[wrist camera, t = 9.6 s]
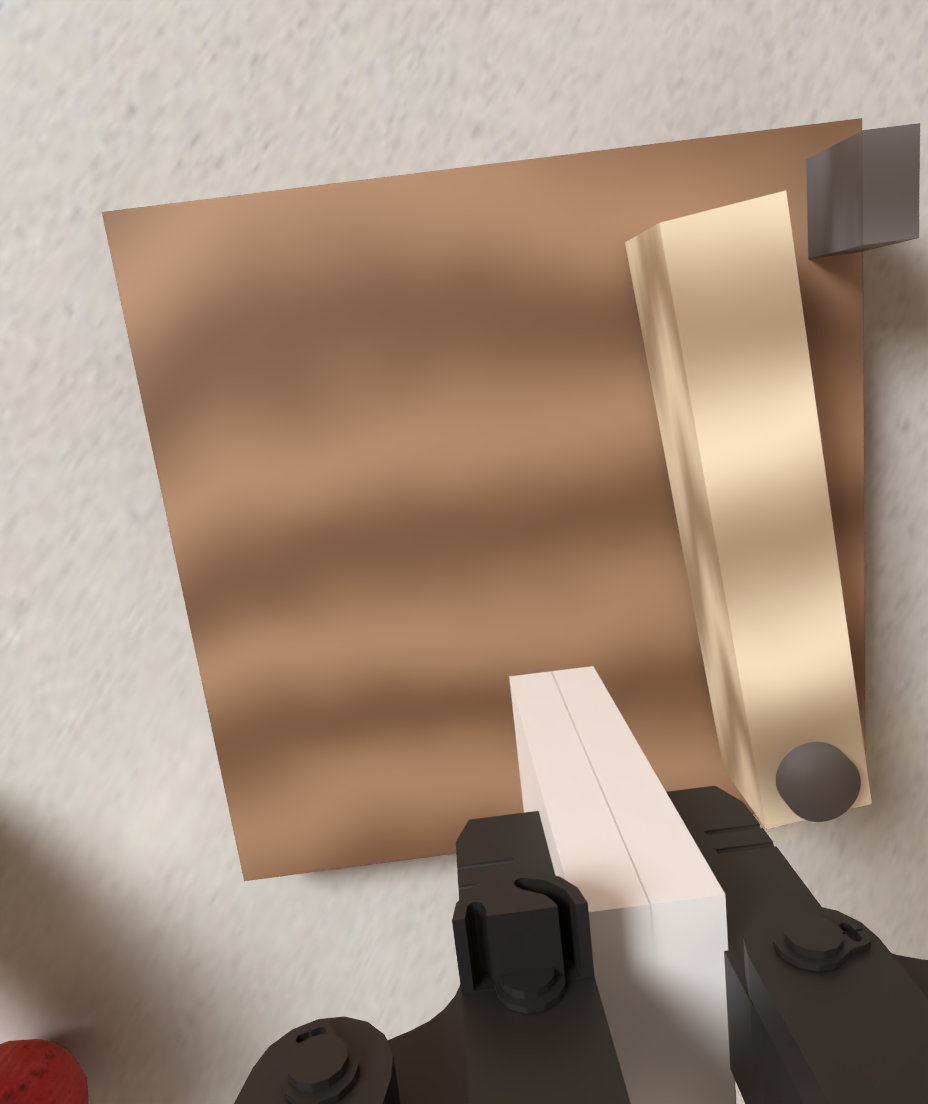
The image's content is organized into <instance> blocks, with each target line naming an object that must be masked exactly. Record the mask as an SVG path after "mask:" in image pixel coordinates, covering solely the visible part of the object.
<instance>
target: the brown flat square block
mask: <svg viewBox="0 0 928 1104" xmlns="http://www.w3.org/2000/svg"><path fill="white" fill-rule="evenodd" d="M919 169H920V123H919V124H910V125H902V126H894V127H886V128H878V129H870V130H863V131H862V118H860V119H852V120H844V121H836V122H828V123H820V124H812V125H804V126H796V127H788V128H779V129H771V130H763V131H755V132H747V133H739V134H731V135H723V136H715V137H707V138H698V139H690V140H682V141H674V142H666V143H658V144H650V145H642V146H634V147H625V148H617V149H609V150H601V151H593V152H585V153H577V154H569V155H561V156H553V157H544V158H536V159H528V160H520V161H512V162H504V163H496V164H488V165H480V166H472V167H463V168H455V169H447V170H439V171H431V172H423V173H415V174H407V175H399V176H391V177H382V178H374V179H366V180H358V181H350V182H342V183H334V184H326V185H318V186H309V187H301V188H293V189H285V190H277V191H269V192H261V193H253V194H245V195H237V196H228V197H220V198H212V199H204V200H196V201H188V202H180V203H172V204H164V205H156V206H147V207H139V208H131V209H123V210H115V211H107V212H102V216H103V220H104V225H105V230H106V234H107V239H108V244H109V248H110V253H111V258H112V262H113V267H114V272H115V277H116V281H117V286H118V291H119V295H120V300H121V305H122V309H123V314H124V319H125V323H126V328H127V333H128V338H129V342H130V347H131V352H132V356H133V361H134V366H135V370H136V375H137V380H138V384H139V389H140V394H141V399H142V403H143V408H144V413H145V417H146V422H147V427H148V431H149V436H150V441H151V446H152V450H153V455H154V460H155V464H156V469H157V474H158V478H159V483H160V488H161V492H162V497H163V502H164V507H165V511H166V516H167V521H168V525H169V530H170V535H171V539H172V544H173V549H174V553H175V558H176V563H177V568H178V572H179V577H180V582H181V586H182V591H183V596H184V600H185V605H186V610H187V614H188V619H189V624H190V629H191V633H192V638H193V643H194V647H195V652H196V657H197V661H198V666H199V671H200V675H201V680H202V685H203V690H204V694H205V699H206V704H207V708H208V713H209V718H210V722H211V727H212V732H213V737H214V741H215V746H216V751H217V755H218V760H219V765H220V769H221V774H222V779H223V783H224V788H225V793H226V798H227V802H228V807H229V812H230V816H231V821H232V826H233V830H234V835H235V840H236V844H237V849H238V854H239V859H240V863H241V868H242V873H243V877H244V881H249V880H257V879H264V878H272V877H279V876H287V875H294V874H302V873H310V872H317V871H325V870H332V869H340V868H347V867H355V866H362V865H370V864H377V863H385V862H393V861H400V860H408V859H415V858H423V857H430V856H438V855H445V854H453V853H456V840H457V839H458V837H459V835H460V834H461V832H462V830H463V829H464V827H465V825H466V824H467V822H468V820H470V819H477V818H485V817H493V816H501V815H509V814H517V813H524V808H523V799H522V790H521V780H520V771H519V762H518V753H517V743H516V734H515V725H514V716H513V706H512V697H511V688H510V679H509V676H517V675H525V674H533V673H541V672H549V671H557V670H566V669H574V668H582V667H590V666H593V667H594V668H595V670H596V672H597V674H598V675H599V677H600V679H601V680H602V682H603V684H604V686H605V687H606V689H607V691H608V693H609V694H610V696H611V698H612V699H613V701H614V703H615V705H616V706H617V708H618V710H619V712H620V713H621V715H622V717H623V718H624V720H625V722H626V724H627V725H628V727H629V729H630V731H631V732H632V734H633V736H634V737H635V739H636V741H637V743H638V744H639V746H640V748H641V750H642V751H643V753H644V755H645V756H646V758H647V760H648V762H649V763H650V765H651V767H652V769H653V770H654V772H655V774H656V775H657V777H658V779H659V781H660V782H661V784H662V786H663V788H664V789H665V791H666V792H668V791H676V790H684V789H691V788H699V787H707V786H717V787H719V788H720V789H722V790H724V791H725V792H727V793H729V794H730V795H732V796H734V797H735V798H737V799H739V800H741V801H742V802H744V804H745V805H746V806H747V808H748V809H749V810H750V812H751V813H752V814H755V813H754V811H753V810H752V808H751V807H750V806H749V804H748V803H747V801H746V800H745V798H744V797H743V796H742V794H741V793H740V791H739V790H738V789H737V787H736V786H735V784H734V783H733V782H732V780H731V779H730V777H729V776H728V774H727V773H726V772H725V770H724V769H723V763H722V758H721V753H720V747H719V742H718V737H717V731H716V726H715V721H714V715H713V710H712V705H711V699H710V694H709V688H708V683H707V678H706V672H705V667H704V662H703V656H702V651H701V646H700V640H699V635H698V630H697V624H696V619H695V614H694V608H693V603H692V598H691V592H690V587H689V582H688V576H687V571H686V566H685V560H684V555H683V550H682V544H681V539H680V534H679V528H678V523H677V517H676V512H675V507H674V501H673V496H672V491H671V485H670V480H669V475H668V469H667V464H666V459H665V453H664V448H663V443H662V437H661V432H660V427H659V421H658V416H657V411H656V405H655V400H654V395H653V389H652V384H651V379H650V373H649V368H648V362H647V357H646V352H645V346H644V341H643V336H642V330H641V325H640V320H639V314H638V309H637V304H636V298H635V293H634V288H633V282H632V277H631V272H630V266H629V261H628V256H627V250H626V245H625V242H627V241H628V240H630V239H632V238H634V237H635V236H637V235H639V234H641V233H642V232H644V231H646V230H648V229H649V228H651V227H653V226H655V225H656V224H658V223H661V222H665V221H668V220H672V219H676V218H680V217H684V216H688V215H692V214H696V213H700V212H704V211H708V210H711V209H715V208H719V207H723V206H727V205H731V204H735V203H739V202H743V201H747V200H750V199H754V198H758V197H762V196H766V195H770V194H774V193H778V192H782V191H786V193H787V200H788V207H789V215H790V222H791V229H792V236H793V243H794V250H795V257H796V265H797V272H798V279H799V286H800V293H801V300H802V308H803V315H804V322H805V329H806V336H807V343H808V350H809V358H810V365H811V372H812V379H813V386H814V393H815V401H816V408H817V415H818V422H819V429H820V436H821V443H822V451H823V458H824V465H825V472H826V479H827V486H828V493H829V501H830V508H831V515H832V522H833V529H834V536H835V544H836V551H837V558H838V565H839V572H840V579H841V586H842V594H843V601H844V608H845V615H846V622H847V629H848V636H849V644H850V651H851V658H852V665H853V672H854V679H855V687H856V694H857V701H858V708H859V715H860V722H861V729H862V737H863V744H864V751H865V587H864V399H863V251H866V250H870V249H874V248H878V247H883V246H887V245H891V244H895V243H900V242H904V241H908V240H912V239H917V238H919Z"/></svg>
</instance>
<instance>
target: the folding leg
mask: <svg viewBox="0 0 928 1104" xmlns="http://www.w3.org/2000/svg"><path fill="white" fill-rule="evenodd" d="M625 245H626V250H627V256H628V261H629V266H630V272H631V277H632V282H633V288H634V293H635V298H636V304H637V309H638V314H639V320H640V325H641V330H642V336H643V341H644V346H645V352H646V357H647V362H648V368H649V373H650V379H651V384H652V389H653V395H654V400H655V405H656V411H657V416H658V421H659V427H660V432H661V437H662V443H663V448H664V453H665V459H666V464H667V469H668V475H669V480H670V485H671V491H672V496H673V501H674V507H675V512H676V517H677V523H678V528H679V534H680V539H681V544H682V550H683V555H684V560H685V566H686V571H687V576H688V582H689V587H690V592H691V598H692V603H693V608H694V614H695V619H696V624H697V630H698V635H699V640H700V646H701V651H702V656H703V662H704V667H705V672H706V678H707V683H708V688H709V694H710V699H711V705H712V710H713V715H714V721H715V726H716V731H717V737H718V742H719V747H720V753H721V758H722V763H723V769H724V770H725V772H726V773H727V774H728V776H729V777H730V779H731V780H732V782H733V783H734V784H735V786H736V787H737V789H738V790H739V791H740V793H741V794H742V796H743V797H744V798H745V800H746V801H747V803H748V804H749V806H750V807H751V808H752V810H753V811H754V813H755V814H756V815H757V817H758V818H759V820H760V821H761V822H762V824H763V825H764V827H765V828H766V829H770V828H774V827H778V826H783V825H787V824H791V823H795V822H799V821H803V820H808V821H813V822H823V821H828V820H832V819H834V818H837V817H839V816H840V815H842V814H843V813H845V812H846V811H847V810H849V809H853V808H857V807H861V806H865V805H869V804H872V801H871V794H870V787H869V779H868V772H867V765H866V758H865V751H864V744H863V737H862V729H861V722H860V715H859V708H858V701H857V694H856V687H855V679H854V672H853V665H852V658H851V651H850V644H849V636H848V629H847V622H846V615H845V608H844V601H843V594H842V586H841V579H840V572H839V565H838V558H837V551H836V544H835V536H834V529H833V522H832V515H831V508H830V501H829V493H828V486H827V479H826V472H825V465H824V458H823V451H822V443H821V436H820V429H819V422H818V415H817V408H816V401H815V393H814V386H813V379H812V372H811V365H810V358H809V350H808V343H807V336H806V329H805V322H804V315H803V308H802V300H801V293H800V286H799V279H798V272H797V265H796V257H795V250H794V243H793V236H792V229H791V222H790V215H789V207H788V200H787V193H786V191H782V192H778V193H774V194H770V195H766V196H762V197H758V198H754V199H750V200H747V201H743V202H739V203H735V204H731V205H727V206H723V207H719V208H715V209H711V210H708V211H704V212H700V213H696V214H692V215H688V216H684V217H680V218H676V219H672V220H668V221H665V222H661V223H658V224H656V225H655V226H653V227H651V228H649V229H648V230H646V231H644V232H642V233H641V234H639V235H637V236H635V237H634V238H632V239H630V240H628V241H627V242H625Z"/></svg>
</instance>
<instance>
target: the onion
mask: <svg viewBox="0 0 928 1104" xmlns="http://www.w3.org/2000/svg"><path fill="white" fill-rule="evenodd" d="M0 1104H88V1085H87V1077H86V1076H85V1074H84V1072H83V1070H82V1069H81V1067H80V1065H79V1063H78V1062H77V1060H76V1058H75V1057H74V1056H73V1055H72V1054H71V1053H70V1052H69V1051H67V1050H65V1049H64V1048H62V1047H61V1046H59V1045H58V1044H56V1043H54V1042H49V1041H44V1040H40V1039H31V1040H17V1041H8V1042H5V1043H2V1044H0Z"/></svg>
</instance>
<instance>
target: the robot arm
mask: <svg viewBox="0 0 928 1104" xmlns="http://www.w3.org/2000/svg"><path fill="white" fill-rule="evenodd" d="M509 679H510V688H511V697H512V706H513V716H514V725H515V734H516V743H517V753H518V762H519V771H520V780H521V790H522V799H523V808H524V813H517V814H509V815H501V816H493V817H485V818H477V819H470V820H468V822H467V824H466V825H465V827H464V829H463V830H462V832H461V834H460V835H459V837H458V839H457V840H456V855H457V868H458V870H457V871H458V886H459V901H458V902H457V903H456V907H455V911H454V915H453V919H452V924H453V931H454V939H455V946H456V954H457V961H458V969H459V976H460V987H459V989H458V991H457V993H456V995H455V997H454V998H453V999H452V1000H451V1002H450V1003H449V1004H448V1005H447V1007H446V1008H445V1009H444V1010H443V1011H441V1012H440V1013H439V1014H438V1015H436V1016H435V1017H434V1018H433V1019H431V1020H430V1021H429V1022H427V1023H425V1024H423V1025H421V1026H419V1027H417V1028H415V1029H413V1030H411V1031H409V1032H407V1033H404V1034H402V1035H400V1036H397V1037H395V1038H392V1039H390V1040H387V1039H386V1037H385V1035H384V1034H383V1033H381V1032H380V1031H379V1030H378V1029H376V1028H375V1027H374V1026H372V1025H371V1024H370V1023H368V1022H365V1021H361V1020H357V1019H353V1018H348V1017H336V1018H326V1019H318V1020H315V1021H313V1022H310V1023H308V1024H305V1025H303V1026H300V1027H298V1028H295V1029H293V1030H291V1031H290V1032H288V1033H287V1034H286V1035H284V1036H283V1037H282V1038H280V1039H279V1040H278V1041H276V1042H275V1043H273V1044H272V1045H271V1046H269V1048H268V1049H267V1050H266V1051H265V1053H264V1054H263V1055H262V1057H261V1058H260V1059H259V1061H258V1062H257V1063H256V1065H255V1066H254V1067H253V1069H252V1071H251V1072H250V1074H249V1076H248V1078H247V1080H246V1082H245V1084H244V1086H243V1088H242V1090H241V1092H240V1093H239V1095H238V1097H237V1099H236V1101H235V1103H234V1104H736V1090H735V1081H736V1083H737V1086H738V1088H739V1090H740V1092H741V1095H742V1097H743V1099H744V1101H745V1104H928V960H922V959H916V958H910V957H904V956H899V955H895V954H892V953H891V952H890V951H889V950H888V949H887V947H886V946H885V945H884V944H883V942H882V941H881V940H880V939H879V938H878V937H877V936H876V935H875V934H874V933H873V932H871V931H870V930H869V929H868V928H867V927H866V926H865V925H863V924H862V923H861V922H859V921H857V920H855V919H853V918H851V917H849V916H847V915H845V914H843V913H841V912H839V911H836V910H831V909H827V908H823V907H821V905H820V904H819V903H818V901H817V900H816V899H815V897H814V896H813V895H812V893H811V892H810V891H809V889H808V888H807V887H806V885H805V884H804V883H803V881H802V880H801V879H800V877H799V876H798V875H797V873H796V872H795V871H794V869H793V868H792V867H791V865H790V864H789V863H788V861H787V860H786V859H785V857H784V856H783V855H782V853H781V852H780V851H779V849H778V848H777V847H776V846H775V847H774V845H773V841H772V840H771V839H770V837H769V836H768V835H767V833H766V832H765V831H764V829H763V828H760V824H759V822H758V821H757V820H756V818H755V817H754V816H753V814H752V813H751V812H750V810H749V809H748V808H747V806H746V805H745V804H744V802H742V801H741V800H739V799H737V798H735V797H734V796H732V795H730V794H729V793H727V792H725V791H724V790H722V789H720V788H719V787H717V786H707V787H699V788H691V789H684V790H676V791H668V792H666V791H665V789H664V788H663V786H662V784H661V782H660V781H659V779H658V777H657V775H656V774H655V772H654V770H653V769H652V767H651V765H650V763H649V762H648V760H647V758H646V756H645V755H644V753H643V751H642V750H641V748H640V746H639V744H638V743H637V741H636V739H635V737H634V736H633V734H632V732H631V731H630V729H629V727H628V725H627V724H626V722H625V720H624V718H623V717H622V715H621V713H620V712H619V710H618V708H617V706H616V705H615V703H614V701H613V699H612V698H611V696H610V694H609V693H608V691H607V689H606V687H605V686H604V684H603V682H602V680H601V679H600V677H599V675H598V674H597V672H596V670H595V668H594V667H593V666H590V667H582V668H574V669H566V670H557V671H549V672H541V673H533V674H525V675H517V676H509Z"/></svg>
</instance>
